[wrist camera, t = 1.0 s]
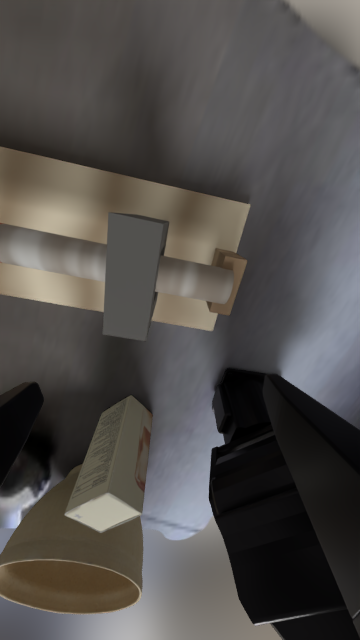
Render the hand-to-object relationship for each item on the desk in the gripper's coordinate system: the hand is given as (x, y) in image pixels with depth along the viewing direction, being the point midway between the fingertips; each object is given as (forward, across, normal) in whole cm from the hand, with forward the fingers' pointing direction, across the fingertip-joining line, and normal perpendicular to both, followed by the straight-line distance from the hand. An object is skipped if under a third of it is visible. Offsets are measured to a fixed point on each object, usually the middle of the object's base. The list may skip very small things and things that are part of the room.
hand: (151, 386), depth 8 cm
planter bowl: (+13, +12, +29) cm, 34 cm away
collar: (+12, +1, -3) cm, 13 cm away
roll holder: (+12, +5, -4) cm, 14 cm away
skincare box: (+13, +6, +15) cm, 21 cm away
